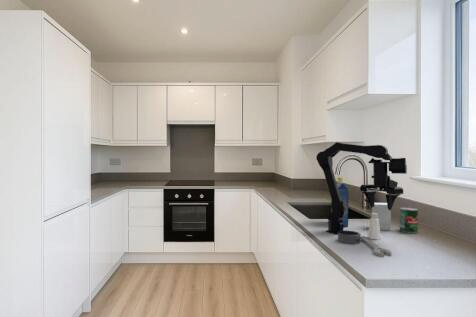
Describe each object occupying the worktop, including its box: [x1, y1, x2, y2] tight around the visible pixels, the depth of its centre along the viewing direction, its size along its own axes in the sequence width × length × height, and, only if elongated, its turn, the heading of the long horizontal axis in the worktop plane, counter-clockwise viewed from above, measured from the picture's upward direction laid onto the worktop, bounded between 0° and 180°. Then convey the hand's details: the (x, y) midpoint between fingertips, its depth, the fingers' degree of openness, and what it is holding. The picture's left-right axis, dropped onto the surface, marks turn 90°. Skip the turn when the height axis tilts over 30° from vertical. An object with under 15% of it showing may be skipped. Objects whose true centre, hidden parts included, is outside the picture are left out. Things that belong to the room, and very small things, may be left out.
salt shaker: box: [367, 212, 382, 241], centre depth 139 cm, size 5×5×11 cm
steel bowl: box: [337, 229, 362, 245], centre depth 133 cm, size 9×9×4 cm
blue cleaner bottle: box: [330, 176, 349, 228], centre depth 166 cm, size 6×12×25 cm, turn 175°
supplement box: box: [371, 202, 392, 231], centre depth 157 cm, size 7×7×13 cm
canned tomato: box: [399, 206, 419, 234], centre depth 152 cm, size 8×8×11 cm
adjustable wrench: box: [360, 235, 392, 258], centre depth 125 cm, size 25×6×2 cm, turn 172°
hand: (380, 208), depth 138 cm, fingers open, 9 cm apart
